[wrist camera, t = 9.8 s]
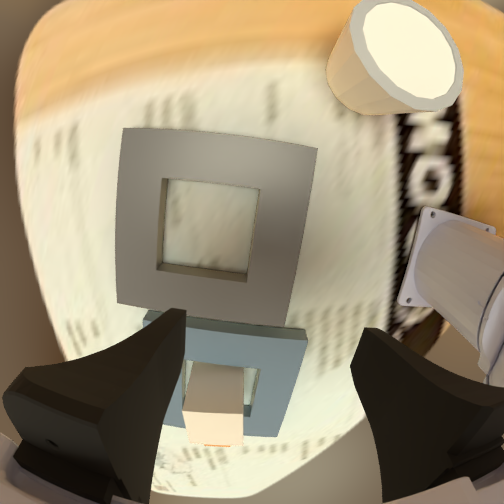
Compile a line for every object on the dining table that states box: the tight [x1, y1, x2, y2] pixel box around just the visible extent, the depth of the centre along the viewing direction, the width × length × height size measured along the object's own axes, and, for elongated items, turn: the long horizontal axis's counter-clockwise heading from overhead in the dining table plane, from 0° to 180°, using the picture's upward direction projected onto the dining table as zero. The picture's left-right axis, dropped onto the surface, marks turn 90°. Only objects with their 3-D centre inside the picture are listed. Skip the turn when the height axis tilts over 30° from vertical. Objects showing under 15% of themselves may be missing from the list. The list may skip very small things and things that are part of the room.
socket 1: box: [115, 128, 318, 327], centre depth 18 cm, size 12×12×2 cm
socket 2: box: [143, 310, 308, 437], centre depth 22 cm, size 12×12×2 cm
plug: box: [182, 361, 244, 447], centre depth 20 cm, size 4×5×6 cm
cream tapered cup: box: [326, 0, 464, 115], centre depth 13 cm, size 7×7×7 cm
